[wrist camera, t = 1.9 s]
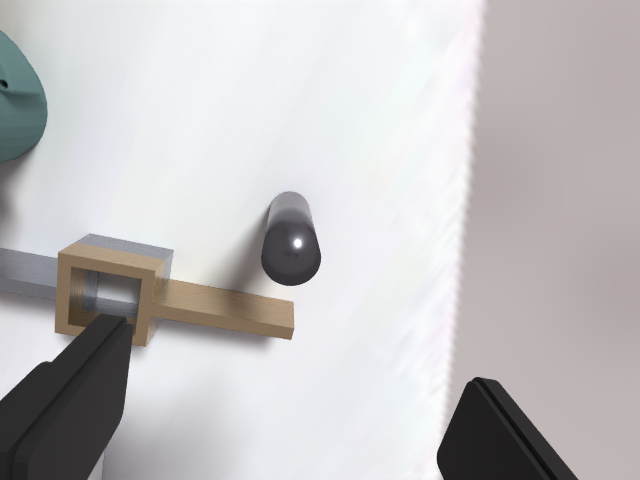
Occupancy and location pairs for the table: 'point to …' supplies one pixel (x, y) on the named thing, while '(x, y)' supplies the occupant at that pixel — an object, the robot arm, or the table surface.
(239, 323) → the hinge
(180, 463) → the table surface
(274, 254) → the hinge pin
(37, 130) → the teal round tub
